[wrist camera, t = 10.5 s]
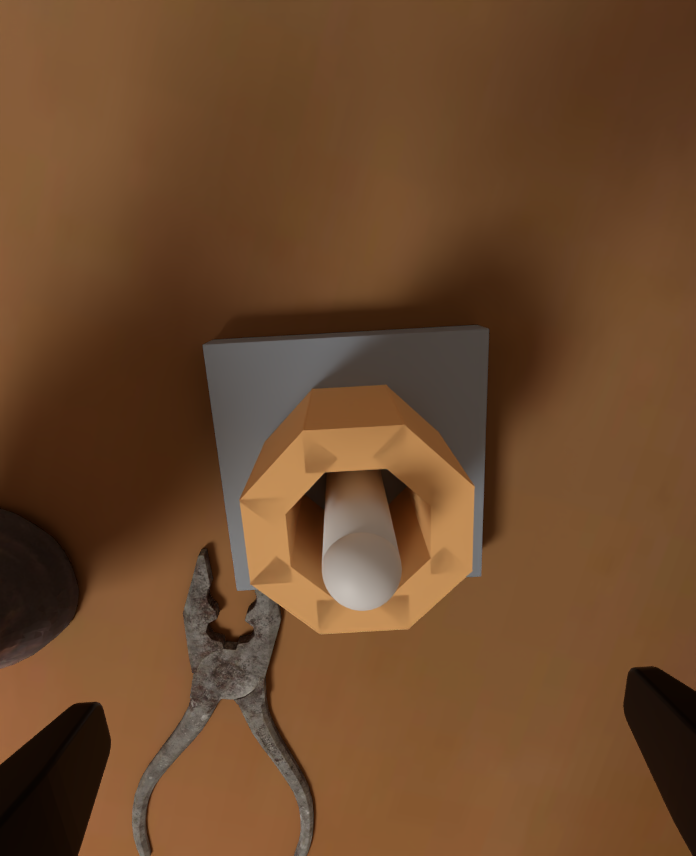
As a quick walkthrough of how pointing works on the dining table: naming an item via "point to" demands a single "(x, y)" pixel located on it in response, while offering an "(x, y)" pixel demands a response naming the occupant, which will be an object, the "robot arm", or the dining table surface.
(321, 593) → the collar
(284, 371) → the pin base
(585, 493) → the dining table surface
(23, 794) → the robot arm
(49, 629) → the mortar and pestle
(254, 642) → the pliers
